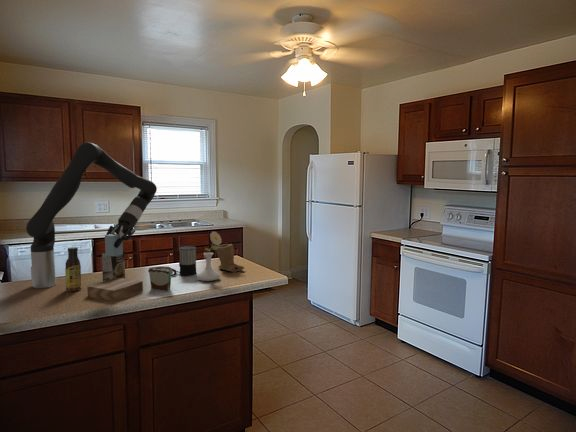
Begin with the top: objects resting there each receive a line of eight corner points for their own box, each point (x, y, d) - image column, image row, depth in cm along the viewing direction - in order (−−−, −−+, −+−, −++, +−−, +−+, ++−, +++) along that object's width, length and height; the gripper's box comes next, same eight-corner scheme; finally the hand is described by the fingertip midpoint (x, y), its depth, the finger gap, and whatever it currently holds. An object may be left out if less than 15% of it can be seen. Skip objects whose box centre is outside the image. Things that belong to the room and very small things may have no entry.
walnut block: (87, 297, 166) (87, 286, 165) (117, 287, 180) (116, 277, 180) (114, 302, 159) (114, 290, 159) (142, 291, 174) (142, 281, 173)
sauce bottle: (70, 292, 170) (68, 249, 168) (63, 290, 173) (60, 248, 171) (84, 289, 176) (82, 247, 174) (77, 287, 179) (75, 246, 177)
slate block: (105, 255, 167) (104, 235, 166) (114, 253, 171) (113, 233, 170) (113, 256, 165) (113, 236, 164) (123, 254, 169) (122, 234, 168)
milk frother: (200, 273, 206) (200, 247, 204) (177, 280, 193) (177, 251, 191) (182, 270, 213) (182, 244, 212) (159, 276, 200) (158, 248, 199)
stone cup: (212, 269, 216) (212, 243, 214) (230, 266, 223) (230, 241, 222) (226, 274, 204) (226, 247, 203) (244, 271, 212) (244, 244, 210)
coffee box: (114, 287, 180) (113, 253, 178) (102, 286, 181) (101, 253, 179) (126, 282, 189) (124, 250, 187) (114, 281, 190) (113, 249, 188)
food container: (178, 288, 179) (178, 267, 178) (170, 291, 173) (170, 270, 172) (157, 285, 183) (156, 265, 182) (148, 288, 177) (147, 268, 176)
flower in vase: (204, 284, 185) (203, 234, 183) (193, 279, 194) (192, 231, 191) (227, 279, 194) (226, 231, 191) (215, 275, 202) (215, 229, 200)
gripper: (114, 210, 176) (93, 240, 166) (137, 212, 170) (117, 242, 160) (123, 221, 181) (104, 250, 171) (146, 222, 175) (127, 252, 166)
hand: (110, 246), depth 166 cm, fingers closed on slate block, 5 cm apart
